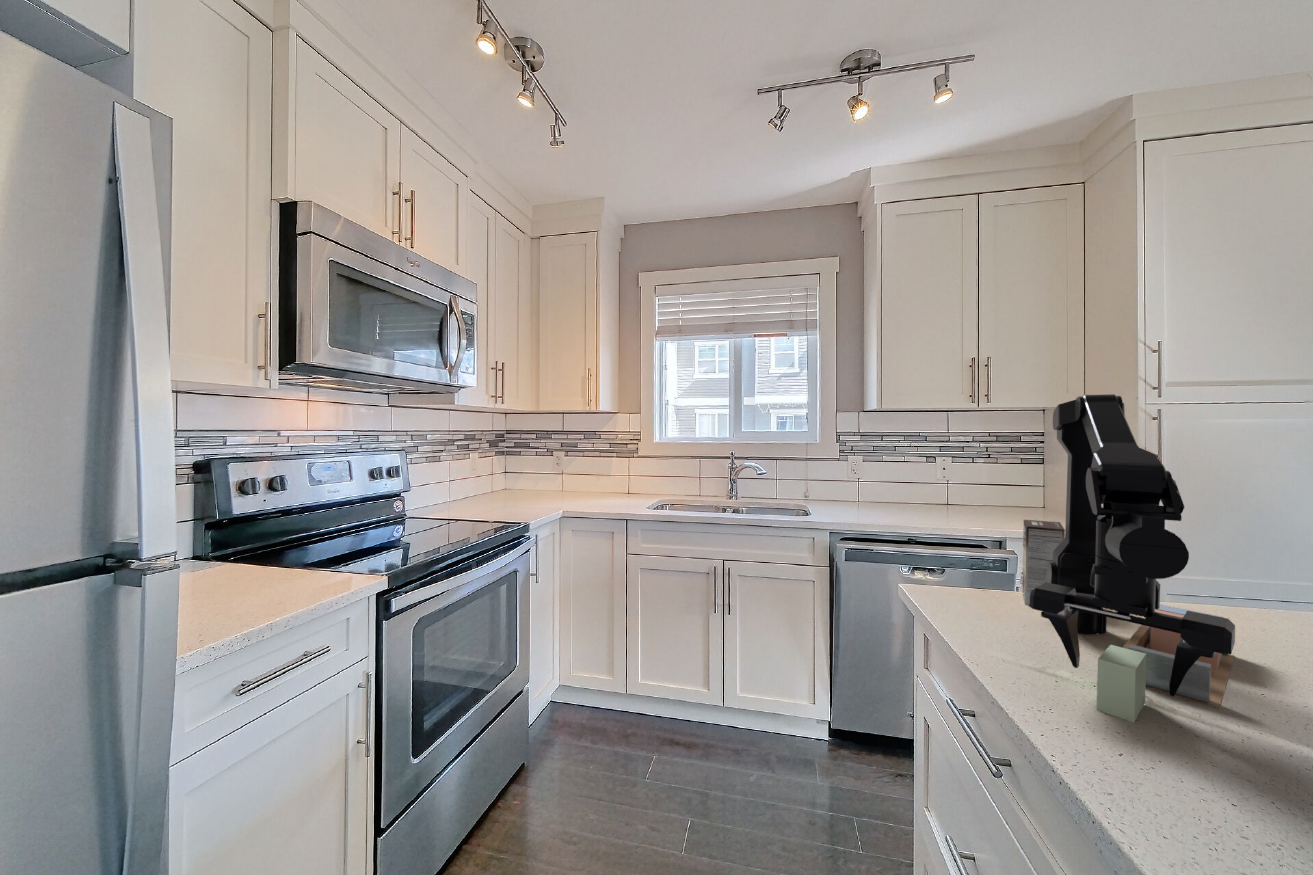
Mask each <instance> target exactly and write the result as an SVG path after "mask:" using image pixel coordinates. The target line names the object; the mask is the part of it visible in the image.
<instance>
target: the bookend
mask: <svg viewBox="0 0 1313 875" xmlns="http://www.w3.org/2000/svg"><path fill="white" fill-rule="evenodd" d="M1129 650H1133V651H1137V652H1141V653H1145V654H1146V684H1145V685H1148V686H1151V687H1155V688H1158V689H1162V690H1165V691H1168V692H1169V683H1170V678H1171V673H1172V668H1173V663H1174V658H1175V655H1172V654H1168V653H1164V652H1160V651H1156V650H1152V649H1148V648H1144V647H1140V646H1136V645H1132V644H1131V645H1130V646H1129ZM1210 689H1211V664H1208V663H1204V662H1200V661H1196V662H1195V663H1194V664H1193V666H1192V667H1191V668H1190V669H1189V670H1188V672H1187V673H1186V675H1185V677H1184V679H1183V681H1182V682H1181V684H1180V686H1179V688H1178V690H1177V692H1176V694H1179V695H1182V696H1186V697H1189V698H1193V699H1196V700H1199V701H1203V702H1206V703H1209V701H1210Z"/></svg>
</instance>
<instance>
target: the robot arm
mask: <svg viewBox="0 0 1313 875" xmlns="http://www.w3.org/2000/svg"><path fill="white" fill-rule="evenodd" d="M1122 398H1123V397H1122V396H1121V395H1116V394H1111V393H1110V394H1083V395H1082V396H1077V397H1076V398H1075V399H1074V400H1070V401H1066V402H1063V403H1062V402H1061V403H1059V404H1057V405H1056V407H1055V408H1054V409H1053V411H1052V429H1053V430H1054V431H1056V440H1057V442H1058V443H1059V444H1060V445H1061V447H1062V448H1063V449H1064V451H1065V452H1066V455H1067V471H1066V472H1067V473H1066V504H1065V528H1064V529H1065V539H1064V540H1063V541H1062V542H1061V543H1060V544H1059V545H1058V546H1057V548H1056V549H1055V550H1054V551H1053V562H1049V565H1048V569H1047V572H1046V576H1045V583H1043V584H1042V585H1040V586H1038V587H1037V588H1035V589H1033V590H1032V591H1031V593H1030V605H1029V608H1030V609H1033V610H1036V611H1040V616H1041V617H1042V618H1044V619H1048V621H1049V622H1050V624H1051V625H1052V627H1053V629H1054V630H1055V631H1056V632H1055V633H1057V635H1058V637H1059V638H1060V641H1061V643H1062V644H1063V646H1064V649H1065V651H1066V654H1067V656H1068V658H1069V660H1070V662H1071V665H1072V667H1073V668H1075V669H1078V668H1079V666H1080V659H1081V658H1080V656H1081V653H1080V652H1081V651H1080V642H1079V635H1089V636H1090V635H1091V636H1092V635H1093V636H1095V635H1107V626H1108V625H1107V624H1108V623H1107V621H1108V620H1107V619H1108V618H1109V619H1114V620H1118V621H1123V622H1126V623H1127V622H1128V623H1132V624H1137V625H1140V626H1141V625H1144V626H1149V627H1153V628H1158V629H1162V630H1167V631H1171V632H1175V633H1180V634H1181V640H1180V641H1179V643H1178V645H1177V648H1176V653H1175V658H1174V663H1173V668H1172V673H1171V678H1170V683H1169V694H1168V695H1169V696H1171V697H1173V698H1174V697H1176V696H1175V694H1176V692H1177V690H1178V688H1179V686H1180V684H1181V682H1182V681H1183V679H1184V677H1185V675H1186V673H1187V672H1188V670H1189V669H1190V668H1191V667H1192V666H1193V664H1194V663H1195V662H1196V661H1197V660H1198V659H1199V657H1201V656H1203V657H1208V658H1214V656H1215V653H1216V652H1217V653H1221V654H1229V655H1232V654H1233V649H1234V648H1235V647H1234V646H1235V644H1236V624H1234V623H1233V622H1232V621H1231V620H1230V619H1229V618H1227V617H1224V616H1222V617H1218V616H1219V615H1217V616H1212V615H1213V614H1212V615H1207V614H1208V613H1207V614H1202V613H1203V612H1202V613H1197V612H1198V611H1197V612H1192V611H1193V610H1192V611H1187V612H1186V613H1185V615H1184V617H1183V618H1181V617H1176V616H1172V615H1167V614H1162V613H1157V612H1155V609H1159V607H1160V604H1161V602H1160V601H1161V583H1160V582H1159V580H1163V579H1168V578H1172V577H1174V576H1176V575H1178V574H1180V573H1181V572H1182V571H1183V570H1184V569H1185V568H1186V566H1187V565H1188V562H1189V559H1190V553H1189V551H1188V548H1187V546H1186V543H1185V542H1184V540H1182V539H1181V537H1179V535H1176V533H1174V532H1171V531H1170V530H1168V529H1166V528H1165V527H1166V521H1173V522H1181V521H1182V519H1183V518H1182V514H1183V511H1184V510H1185V504H1184V502H1183V499H1182V496H1181V493H1180V491H1179V490H1180V489H1179V487H1178V486H1177V482H1176V480H1175V479H1173V477H1172V474H1171V472H1170V471H1169V470H1166V468H1165V466H1164V464H1163V463H1162V461H1161V460H1160V458H1159V457H1158V455H1156V454H1155V453H1153V452H1151V451H1148V450H1146V449H1144V448H1141V447H1139V445H1138V444H1137V441H1136V439H1135V437H1134V434H1133V431H1132V430H1131V428H1130V426H1129V423H1128V421H1127V419H1126V415H1125V403H1124V402H1123V399H1122ZM1160 502H1161V504H1162V505H1160Z"/></svg>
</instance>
